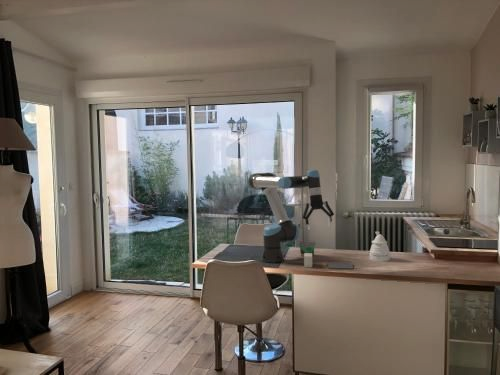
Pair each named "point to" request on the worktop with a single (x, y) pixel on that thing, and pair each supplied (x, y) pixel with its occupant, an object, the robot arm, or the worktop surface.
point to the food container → (307, 248)
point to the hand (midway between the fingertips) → (319, 228)
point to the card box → (307, 259)
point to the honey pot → (379, 249)
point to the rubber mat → (340, 265)
